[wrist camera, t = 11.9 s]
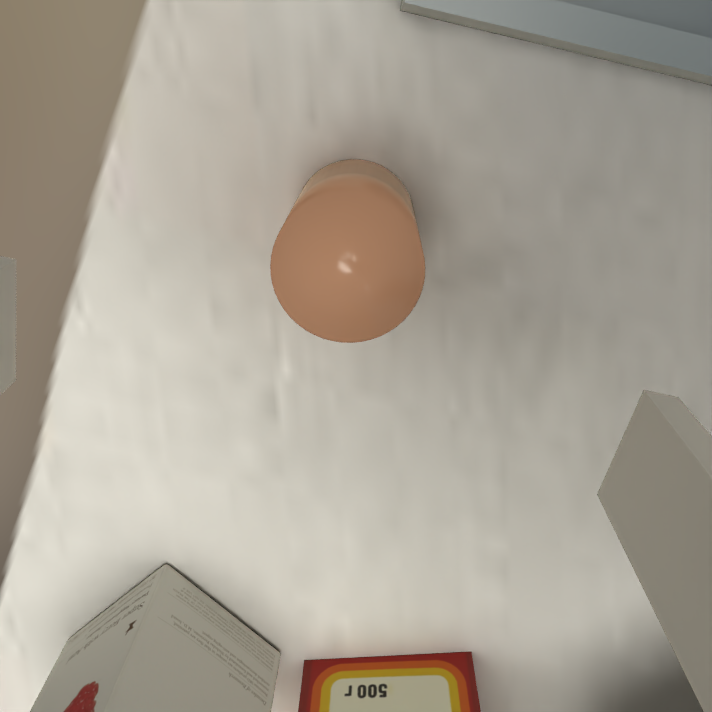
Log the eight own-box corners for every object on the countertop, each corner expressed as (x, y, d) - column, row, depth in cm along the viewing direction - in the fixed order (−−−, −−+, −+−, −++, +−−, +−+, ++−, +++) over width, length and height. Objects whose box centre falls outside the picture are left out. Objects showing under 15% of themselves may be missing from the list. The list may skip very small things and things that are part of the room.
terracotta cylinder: (427, 174, 28) (442, 212, 21) (398, 289, 30) (404, 356, 23) (306, 146, 27) (284, 177, 21) (285, 264, 29) (259, 325, 23)
